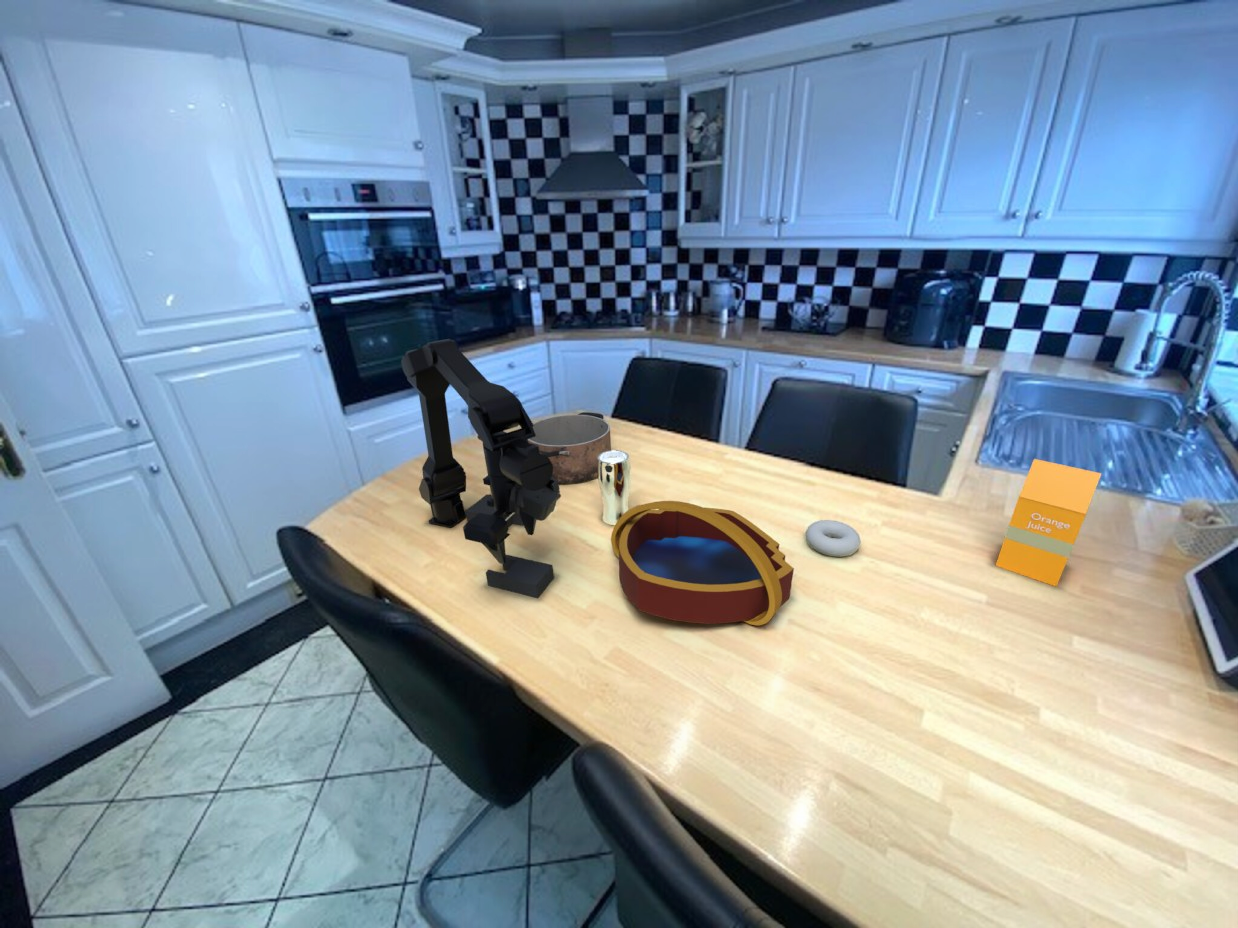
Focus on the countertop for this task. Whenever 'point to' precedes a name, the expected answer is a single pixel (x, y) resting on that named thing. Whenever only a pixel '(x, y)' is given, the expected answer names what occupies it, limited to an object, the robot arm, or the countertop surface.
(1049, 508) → the orange juice
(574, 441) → the cooking pot
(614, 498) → the beer glass
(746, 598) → the decorative basket
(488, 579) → the black flat notched block
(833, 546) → the donut
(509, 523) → the dock pad
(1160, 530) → the countertop surface
